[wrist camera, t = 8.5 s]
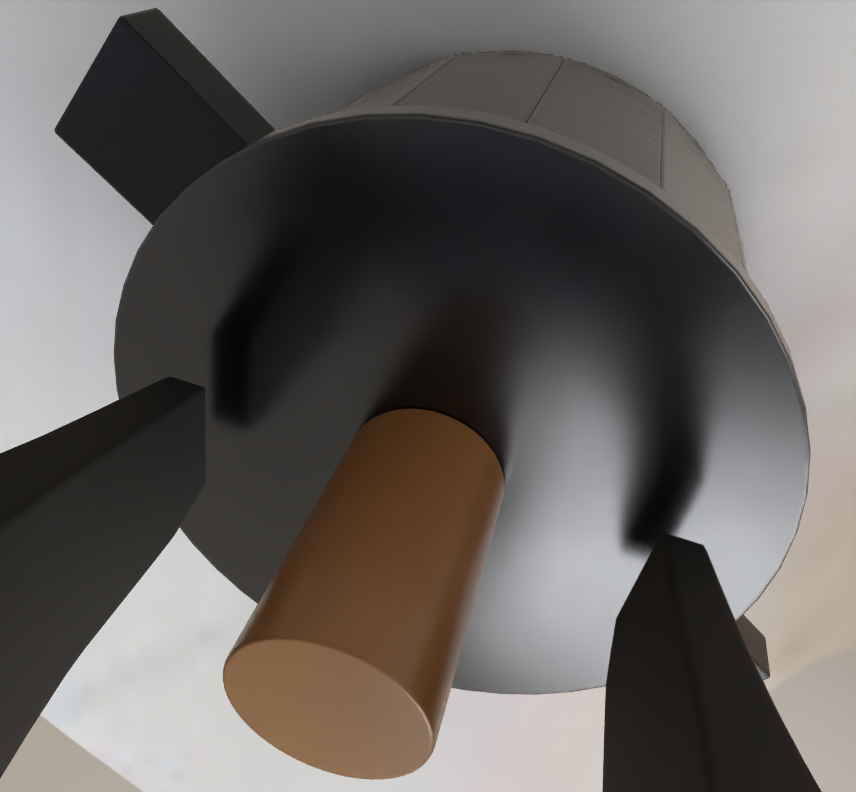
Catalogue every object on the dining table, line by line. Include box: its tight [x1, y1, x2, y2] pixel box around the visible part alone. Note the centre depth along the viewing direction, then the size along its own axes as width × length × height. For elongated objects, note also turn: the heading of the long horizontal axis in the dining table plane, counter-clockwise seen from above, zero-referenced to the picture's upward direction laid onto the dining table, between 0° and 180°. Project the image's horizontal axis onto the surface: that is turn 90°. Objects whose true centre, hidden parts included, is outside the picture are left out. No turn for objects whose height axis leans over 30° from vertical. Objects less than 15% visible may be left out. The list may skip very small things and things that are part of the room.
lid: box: [114, 105, 810, 779], centre depth 11 cm, size 11×11×6 cm
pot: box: [55, 8, 770, 680], centre depth 15 cm, size 10×16×6 cm, turn 45°
